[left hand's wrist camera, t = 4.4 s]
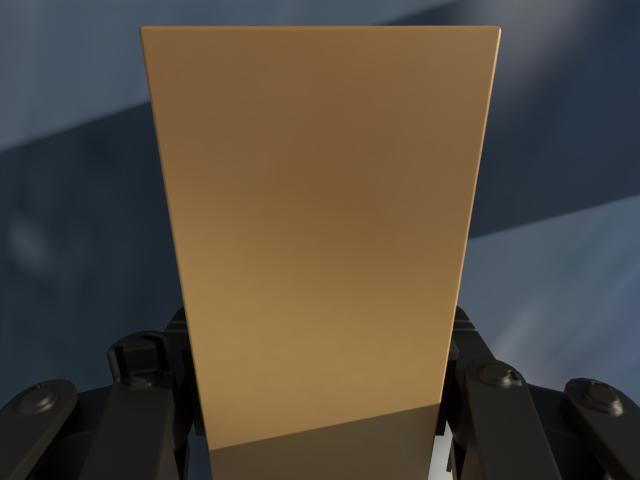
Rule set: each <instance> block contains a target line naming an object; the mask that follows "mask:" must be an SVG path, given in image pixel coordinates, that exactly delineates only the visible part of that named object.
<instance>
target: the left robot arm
mask: <svg viewBox="0 0 640 480" xmlns="http://www.w3.org/2000/svg"><path fill="white" fill-rule="evenodd" d="M106 354H107V357H108V361H109V365H110V368H111V372H112V376H113V379H114V384H113V385H110V386H107V387H104V388H99V389H95V390H91V391H86V392H82V393H77V391H76V388H75V385H74V384H73V383H71V382H70V381H68V380H62V379H57V380H50V381H45V382H42V383H39V384H37V385H34V386H32V387H30V388H28V389H26V390H24V391H22V392H21V393H19V394H18V395H17V396H15V397H14V398H13V399H12V400H10V401H9V402H8V403H7V404H6V405H5V406H4V407H3V408H2V409H1V410H0V480H187V476H188V465H189V453H190V449H189V442H188V437H187V436H188V434H189V431H190V429H191V426H192V424H193V421H194V425H195V431H196V436H205V431H204V424H203V418H202V412H201V406H200V400H199V394H198V388H197V382H196V376H195V369H194V363H193V357H192V351H191V345H190V339H189V333H188V327H187V321H186V314H185V308H184V307H182V308H181V309H180V310H178V311H177V312H176V314H175V315H174V317H173V318H172V320H171V321H170V324H169V325H168V326H167V328H166V329H165V332H163V333H162V332H158V331H142V332H138V333H134V334H131V335H129V336H126V337H124V338H122V339H120V340H119V341H118V342H116V343H115V344H113V345H112V346H111V347H110V349H109V350H108V351H107V353H106ZM446 421H448V424H449V426H450V429H451V432H452V434H453V437H452V442H451V448H450V453H449V458H448V463H447V470H446V471H447V472H451V469H452V475H453V480H640V408H639V407H638V406H637V405H636V404H635V403H634V402H633V401H632V400H631V399H630V398H629V397H627V396H626V395H625V394H624V393H622V392H621V391H619V390H617V389H616V388H614V387H612V386H610V385H608V384H606V383H603V382H600V381H597V380H594V379H587V378H576V379H571V380H570V381H569V382H568V383H567V384H566V386H565V389H564V392H561V391H556V390H552V389H547V388H543V387H538V386H535V385H531V384H528V383H526V381H525V380H524V378H523V376H522V375H521V373H519V372H518V371H517V370H516V369H515V368H513V367H512V366H510V365H508V364H506V363H504V362H502V361H499V360H496V359H495V357H494V356H493V354H492V353H491V351H490V350H489V348H488V347H487V345H486V344H485V342H484V341H483V339H482V338H481V336H480V335H479V333H478V332H477V331H476V329H475V327H474V326H473V324H472V323H471V322H470V320H469V318H468V317H467V315H466V314H465V312H464V311H463V310H462V309H461V308H459V307H458V306H457V305H456V311H455V317H454V323H453V329H452V335H451V341H450V347H449V353H448V359H447V365H446V372H445V378H444V384H443V390H442V396H441V402H440V408H439V414H438V420H437V426H436V432H435V436H444V432H445V426H446Z"/></svg>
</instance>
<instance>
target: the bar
mask: <svg viewBox="0 0 640 480" xmlns="http://www.w3.org/2000/svg"><path fill="white" fill-rule="evenodd" d="M139 33H140V40H141V46H142V52H143V58H144V64H145V70H146V76H147V82H148V88H149V95H150V101H151V107H152V113H153V119H154V125H155V131H156V137H157V143H158V150H159V156H160V162H161V168H162V174H163V180H164V186H165V192H166V198H167V205H168V211H169V217H170V223H171V229H172V235H173V241H174V247H175V253H176V259H177V266H178V272H179V278H180V284H181V290H182V296H183V302H184V308H185V314H186V321H187V327H188V333H189V339H190V345H191V351H192V357H193V363H194V369H195V376H196V382H197V388H198V394H199V400H200V406H201V412H202V418H203V424H204V431H205V437H206V443H207V449H208V455H209V461H210V467H211V473H212V479H213V480H428V475H429V469H430V463H431V457H432V451H433V445H434V439H435V432H436V426H437V420H438V414H439V408H440V402H441V396H442V390H443V384H444V378H445V372H446V365H447V359H448V353H449V347H450V341H451V335H452V329H453V323H454V317H455V311H456V305H457V298H458V292H459V286H460V280H461V274H462V268H463V262H464V256H465V250H466V244H467V238H468V231H469V225H470V219H471V213H472V207H473V201H474V195H475V189H476V183H477V177H478V171H479V164H480V158H481V152H482V146H483V140H484V134H485V128H486V122H487V116H488V110H489V104H490V97H491V91H492V85H493V79H494V73H495V67H496V61H497V55H498V49H499V43H500V37H501V28H500V27H499V26H142V27H140V28H139Z"/></svg>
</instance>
